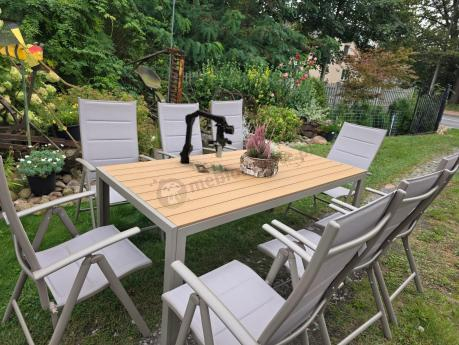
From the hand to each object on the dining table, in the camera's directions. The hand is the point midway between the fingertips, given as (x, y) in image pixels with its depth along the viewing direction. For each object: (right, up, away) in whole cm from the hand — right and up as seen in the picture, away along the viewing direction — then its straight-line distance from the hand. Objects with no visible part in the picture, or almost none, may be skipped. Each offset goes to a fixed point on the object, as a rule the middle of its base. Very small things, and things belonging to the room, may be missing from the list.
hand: (218, 152), depth 228 cm
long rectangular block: (0, -3, +1) cm, 3 cm away
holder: (-1, -12, +4) cm, 13 cm away
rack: (-13, -12, 0) cm, 18 cm away
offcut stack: (-11, -15, -7) cm, 20 cm away
